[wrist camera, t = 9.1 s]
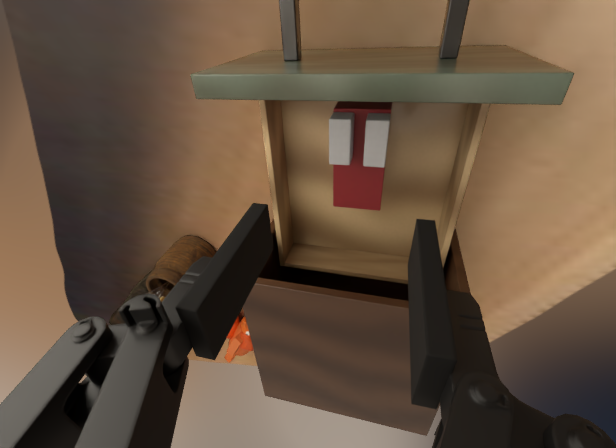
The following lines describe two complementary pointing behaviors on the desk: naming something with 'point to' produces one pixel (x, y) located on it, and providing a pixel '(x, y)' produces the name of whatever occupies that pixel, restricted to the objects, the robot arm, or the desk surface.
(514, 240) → the desk surface
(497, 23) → the desk surface
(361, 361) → the cabinet
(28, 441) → the robot arm
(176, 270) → the utensil holder
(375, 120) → the red base white blocks
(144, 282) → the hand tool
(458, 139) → the drawer
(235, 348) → the orange toy bird
